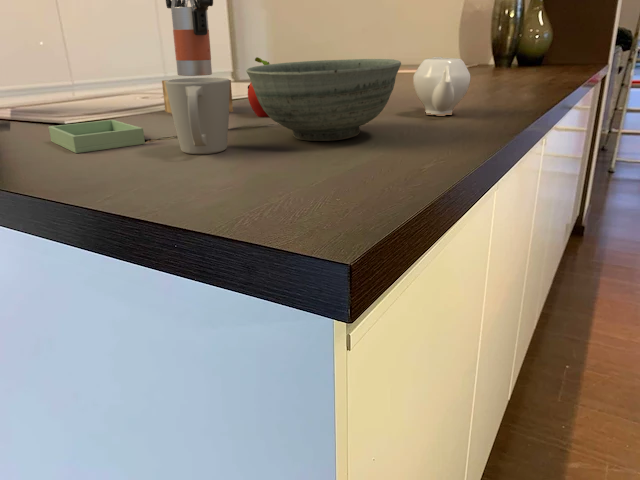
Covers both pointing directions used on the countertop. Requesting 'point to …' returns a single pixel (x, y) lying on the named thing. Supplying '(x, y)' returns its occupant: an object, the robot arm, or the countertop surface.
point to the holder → (167, 103)
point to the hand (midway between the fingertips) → (191, 34)
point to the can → (190, 44)
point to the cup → (200, 113)
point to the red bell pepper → (253, 98)
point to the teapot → (441, 83)
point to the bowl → (324, 94)
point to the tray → (96, 135)
